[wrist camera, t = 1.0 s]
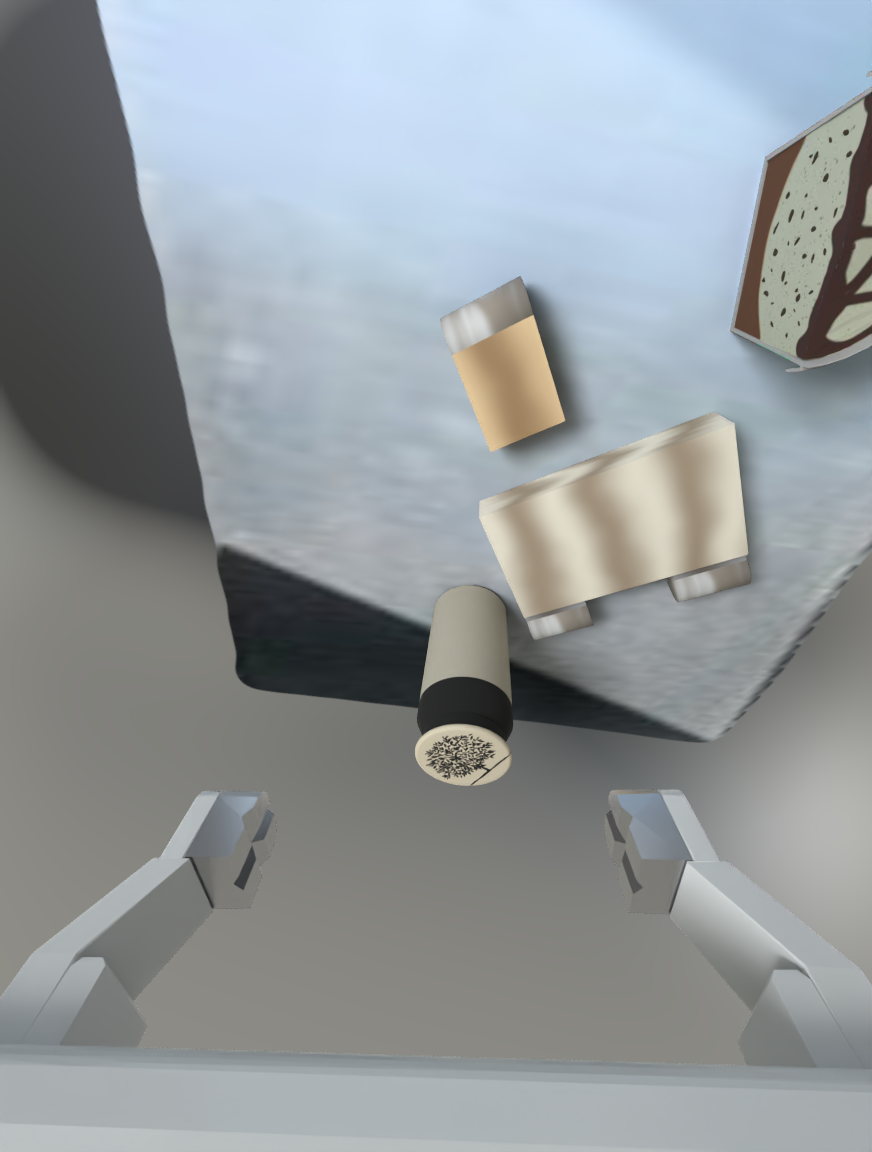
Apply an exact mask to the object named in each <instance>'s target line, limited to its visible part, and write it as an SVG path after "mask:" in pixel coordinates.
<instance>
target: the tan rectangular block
mask: <svg viewBox="0 0 872 1152" xmlns="http://www.w3.org/2000/svg"><path fill="white" fill-rule="evenodd" d="M440 322H441V326H442V330H443V333H444V336H445V339H446V341H447V344H448V347H449V349H450V352H451V354H452V356H453V359H454V361H455V364H456V366H457V369H458V371H459V374H460V376H461V379H462V381H463V384H464V386H465V389H466V391H467V394H468V396H469V399H470V401H471V404H472V406H473V409H474V411H475V414H476V416H477V419H478V421H479V424H480V426H481V429H482V431H483V434H484V436H485V439H486V441H487V444H488V446H489V449H490V451H491V452H492V451H494V450H497V449H499V448H502V447H504V446H506V445H509V444H511V443H514V442H516V441H518V440H521V439H523V438H526V437H528V436H530V435H533V434H535V433H538V432H540V431H543V430H545V429H547V428H550V427H552V426H555V425H557V424H559V423H562V422H564V421H565V418H564V415H563V411H562V408H561V405H560V401H559V398H558V395H557V391H556V388H555V385H554V381H553V378H552V375H551V371H550V368H549V365H548V361H547V358H546V355H545V351H544V348H543V345H542V341H541V338H540V335H539V331H538V328H537V325H536V321H535V318H534V315H533V311H532V308H531V304H530V301H529V298H528V295H527V292H526V289H525V286H524V283H523V280H522V278H521V276H519V277H517V278H516V279H514V280H512V281H510V282H508V283H506V284H504V285H503V286H501V287H499V288H497V289H495V290H493V291H491V292H489V293H488V294H486V295H484V296H482V297H480V298H478V299H476V300H474V301H473V302H471V303H469V304H467V305H465V306H463V307H461V308H459V309H458V310H456V311H454V312H452V313H450V314H448V315H446V316H444V317H443V318H441V319H440Z"/></svg>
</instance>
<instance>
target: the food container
mask: <svg viewBox="0 0 872 1152" xmlns="http://www.w3.org/2000/svg"><path fill="white" fill-rule="evenodd" d="M869 76H872V71H869V72H868V74H867V76H866V77H869ZM730 331H732V332H734V333H736V334H738V335H740V336H742V337H744V338H746V339H748V340H750V341H752V342H754V343H756V344H758V345H760V346H762V347H764V348H766V349H768V350H770V351H772V352H774V353H776V354H778V355H780V356H782V357H784V358H786V359H788V360H790V361H792V362H794V363H796V364H798V365H800V367H795V368H789V369H786V372H796V371H804V370H809V369H814V368H819V367H822V366H825V365H828V364H831V363H834V362H837V361H840V360H842V359H845V358H847V357H850V356H852V355H854V354H856V353H858V352H860V351H863V350H865V349H866V348H868V347H870V346H872V87H870V88H869V89H867V90H866V91H864V92H863V93H861V94H860V95H858V96H857V97H855V98H854V99H852V100H851V101H849V102H848V103H846V104H845V105H843V106H842V107H840V108H839V109H837V110H836V111H834V112H833V113H831V114H830V115H828V116H827V117H825V118H824V119H822V120H821V121H819V122H818V123H816V124H815V125H813V126H812V127H810V128H809V129H807V130H806V131H804V132H803V133H801V134H800V135H798V136H797V137H795V138H794V139H792V140H791V141H789V142H788V143H786V144H785V145H783V146H782V147H780V148H778V149H777V150H775V151H774V152H772V153H771V154H769V155H768V156H766V157H765V160H764V165H763V170H762V175H761V180H760V185H759V190H758V195H757V200H756V205H755V210H754V215H753V220H752V224H751V229H750V234H749V239H748V244H747V249H746V254H745V259H744V264H743V269H742V274H741V279H740V284H739V289H738V294H737V299H736V304H735V309H734V314H733V318H732V323H731V328H730Z"/></svg>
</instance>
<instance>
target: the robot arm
mask: <svg viewBox="0 0 872 1152" xmlns="http://www.w3.org/2000/svg"><path fill="white" fill-rule="evenodd" d="M608 802H609V805H610V808H611V810H610V811H609V812H608V813H607V814H606V816H605V837H606V842H607V846H608V850H609V853H610V856H611V859H612V860H613V861H614V862H615V863H616V864H617V865H618V866H619V867H620V873H619V878H618V881H619V884H620V887H621V890H622V893H623V896H624V899H625V902H626V905H627V908H628V911H629V913H644V914H668V915H670V918H671V919H672V920H673V921H674V922H675V924H676V925H677V926H678V927H679V928H680V929H681V930H682V932H683V933H684V934H685V935H686V936H687V937H688V939H689V940H690V941H691V942H692V943H693V944H694V946H695V947H696V948H697V949H698V950H699V951H700V952H701V954H702V955H703V956H704V957H705V958H706V959H707V960H708V962H709V963H710V964H711V965H712V966H713V967H714V969H715V970H716V971H717V972H718V973H719V974H720V976H721V977H722V978H723V979H724V980H725V981H726V983H727V984H728V985H729V986H730V987H731V988H732V990H733V991H734V992H735V993H736V994H737V995H738V997H739V998H740V999H741V1000H742V1001H743V1002H744V1003H745V1005H746V1006H747V1007H748V1008H749V1009H750V1010H751V1012H752V1013H751V1015H750V1017H749V1019H748V1021H747V1022H746V1024H745V1026H744V1028H743V1030H742V1032H741V1035H740V1037H739V1039H738V1041H737V1043H738V1045H739V1047H740V1050H741V1052H742V1055H743V1057H744V1059H745V1062H746V1064H747V1065H715V1064H714V1065H713V1064H679V1063H646V1062H614V1061H580V1060H546V1059H512V1058H478V1057H443V1056H412V1055H375V1054H344V1053H343V1054H341V1053H310V1052H276V1051H274V1052H273V1051H241V1050H207V1049H173V1048H172V1049H171V1048H138V1045H139V1043H140V1041H141V1039H142V1036H143V1034H144V1032H145V1030H146V1028H147V1025H146V1019H145V1017H144V1016H143V1014H142V1013H141V1011H140V1010H139V1009H138V1007H137V1006H136V1004H135V1003H134V1000H135V999H136V997H137V996H138V995H139V994H140V993H141V992H142V991H143V989H144V988H145V987H146V986H147V985H148V984H149V983H150V982H151V981H152V979H153V978H154V977H155V976H156V975H157V974H158V973H159V972H160V971H161V969H162V968H163V967H164V966H165V965H166V964H167V963H168V962H169V960H170V959H171V958H172V957H173V956H174V955H175V954H176V953H177V952H178V950H179V949H180V948H181V947H182V946H183V945H184V944H185V943H186V941H187V940H188V939H189V938H190V937H191V936H192V935H193V934H194V933H195V932H196V930H197V929H198V928H199V927H200V926H201V925H202V924H203V922H204V921H205V920H206V919H207V918H208V917H209V916H210V915H211V914H212V913H213V910H212V909H242V908H243V909H244V908H251V905H252V903H253V900H254V897H255V895H256V892H257V890H258V886H259V884H260V882H261V879H262V874H261V871H260V866H261V865H262V864H263V863H264V862H265V861H266V860H267V859H268V858H269V857H270V855H271V852H272V849H273V847H274V843H275V837H276V831H277V829H276V819H275V815H274V814H273V813H272V812H271V811H270V810H268V809H267V808H268V806H269V803H270V799H269V796H268V793H267V792H251V791H203V792H202V793H200V794H199V795H198V796H197V797H196V799H195V800H194V802H193V804H192V806H191V807H190V809H189V810H188V812H187V814H186V815H185V817H184V819H183V821H182V822H181V824H180V825H179V827H178V829H177V830H176V832H175V834H174V835H173V837H172V839H171V840H170V842H169V843H168V845H167V847H166V848H165V850H164V852H163V854H162V855H161V857H160V858H153V859H152V860H150V861H149V862H148V863H147V864H145V865H144V866H143V867H141V868H140V869H139V870H138V871H136V872H135V873H134V874H133V875H131V876H130V877H129V878H128V879H126V880H125V881H124V882H122V883H121V884H120V885H119V886H117V887H116V888H115V889H114V890H112V891H111V892H110V893H108V894H107V895H106V896H105V897H103V898H102V899H101V900H100V901H98V902H97V903H96V904H94V905H93V906H92V907H91V908H89V909H88V910H87V911H85V912H84V913H83V914H82V915H81V916H79V917H78V918H77V919H75V920H74V921H73V922H72V923H70V924H69V925H68V926H66V927H65V928H64V929H63V930H61V931H60V932H59V933H58V934H56V935H55V936H54V937H52V938H51V939H50V940H49V941H47V942H46V943H45V944H44V945H42V946H41V947H40V948H38V949H37V950H36V951H35V952H33V953H32V954H31V956H30V957H29V959H28V960H27V962H26V963H25V964H24V966H23V967H22V968H21V970H20V971H19V973H18V974H17V975H16V977H15V978H14V979H13V981H12V982H11V984H10V985H9V986H8V988H7V989H6V990H5V992H4V993H3V994H2V996H1V997H0V1152H872V986H871V984H870V982H869V981H868V980H867V978H866V977H865V975H864V974H863V972H862V971H861V969H860V968H858V967H857V966H856V965H855V964H853V963H852V962H851V961H850V960H849V959H847V958H846V957H845V956H844V955H842V954H841V953H840V952H839V951H837V950H836V949H835V948H834V947H832V946H831V945H830V944H829V943H828V942H826V941H825V940H824V939H823V938H822V937H820V936H819V935H818V934H817V933H815V932H814V931H813V930H812V929H810V928H809V927H808V926H807V925H806V924H804V923H803V922H802V921H801V920H799V919H798V918H797V917H796V916H794V915H793V914H792V913H791V912H790V911H788V910H787V909H786V908H785V907H783V906H782V905H781V904H780V903H779V902H777V901H776V900H775V899H774V898H772V897H771V896H770V895H769V894H767V893H766V892H765V891H764V890H763V889H761V888H760V887H759V886H758V885H756V884H755V883H754V882H753V881H752V880H750V879H749V878H748V877H747V876H745V875H744V874H743V873H742V872H740V871H739V870H738V869H737V868H736V867H734V866H733V865H732V864H730V863H729V862H728V861H721V860H720V859H719V857H718V855H717V853H716V851H715V850H714V848H713V846H712V844H711V842H710V841H709V839H708V837H707V835H706V833H705V832H704V830H703V828H702V826H701V824H700V822H699V821H698V819H697V817H696V815H695V813H694V812H693V810H692V808H691V806H690V804H689V802H688V801H687V799H686V797H685V795H684V794H683V793H682V792H681V791H680V790H654V789H642V790H612V791H611V792H610V793H609V798H608Z"/></svg>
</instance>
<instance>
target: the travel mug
mask: <svg viewBox="0 0 872 1152" xmlns="http://www.w3.org/2000/svg"><path fill="white" fill-rule="evenodd" d="M417 723H418V726H419V729H420V731H421V733H422V737H421V738H420V739H419V741H418V742H417V745H416V748H415V756H416V759H417V762H418V764H419V765H420V767H421V768H422V769H423V770H424V771H425V772H426V773H428V774H429V775H431V776H432V777H434V778H436V779H438V780H441V781H443V782H446V783H451V784H455V785H464V786H471V785H472V786H473V785H481V784H485V783H489V782H492V781H494V780H496V779H498V778H500V777H501V776H503V775H504V774H505V773H506V771H507V770H508V769H509V767H510V765H511V762H512V754H511V750H510V748H509V746H508V745H507V743H506V741H507V739H508V737H509V736H510V734H511V732H512V729H513V715H512V699H511V682H510V666H509V650H508V633H507V617H506V609H505V606H504V604H503V602H502V600H501V599H500V598H499V597H498V596H497V595H496V594H495V593H493V592H492V591H490V590H488V589H486V588H483V587H479V586H472V585H466V586H459V587H455V588H452V589H450V590H448V591H447V592H445V593H444V594H443V595H441V597H440V598H439V599H438V600H437V602H436V604H435V607H434V612H433V619H432V625H431V632H430V638H429V644H428V651H427V657H426V664H425V670H424V676H423V683H422V689H421V696H420V702H419V708H418V715H417Z"/></svg>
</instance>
